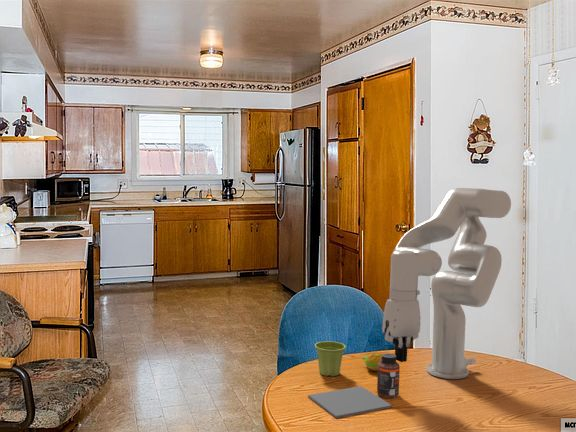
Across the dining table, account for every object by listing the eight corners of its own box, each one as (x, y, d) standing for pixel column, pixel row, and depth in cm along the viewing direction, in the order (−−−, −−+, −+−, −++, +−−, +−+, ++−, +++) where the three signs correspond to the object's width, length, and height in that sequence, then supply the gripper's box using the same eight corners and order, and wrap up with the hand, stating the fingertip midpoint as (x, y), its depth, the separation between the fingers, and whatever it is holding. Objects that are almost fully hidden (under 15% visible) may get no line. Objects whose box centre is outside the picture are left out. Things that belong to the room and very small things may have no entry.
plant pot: (328, 366, 186) (328, 339, 185) (351, 373, 179) (351, 345, 178) (307, 372, 179) (308, 345, 178) (331, 380, 172) (331, 352, 172)
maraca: (369, 374, 178) (369, 357, 178) (358, 364, 188) (359, 347, 187) (390, 373, 179) (391, 356, 179) (379, 363, 189) (379, 347, 189)
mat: (360, 388, 167) (360, 386, 167) (392, 407, 153) (392, 405, 153) (308, 397, 159) (308, 395, 159) (335, 418, 146) (335, 415, 146)
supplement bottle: (398, 400, 158) (399, 359, 157) (376, 398, 159) (377, 357, 159) (398, 392, 164) (400, 352, 163) (377, 390, 165) (378, 351, 164)
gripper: (416, 291, 168) (413, 353, 169) (373, 294, 162) (370, 359, 163) (433, 296, 161) (430, 361, 162) (389, 299, 155) (386, 367, 156)
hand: (400, 360), depth 163 cm, fingers closed
